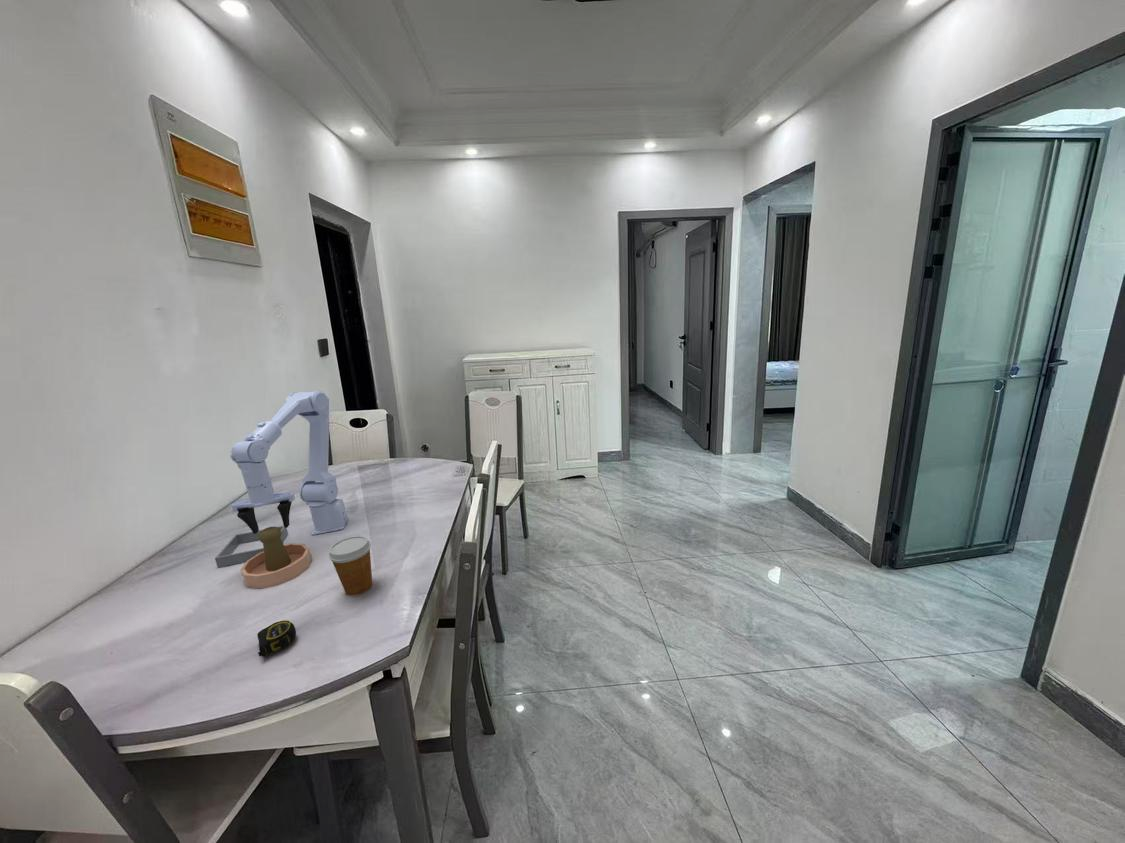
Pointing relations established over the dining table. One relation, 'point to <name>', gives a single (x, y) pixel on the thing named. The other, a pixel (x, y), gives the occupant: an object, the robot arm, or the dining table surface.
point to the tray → (228, 558)
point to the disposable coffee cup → (352, 564)
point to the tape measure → (276, 637)
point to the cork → (274, 549)
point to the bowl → (261, 578)
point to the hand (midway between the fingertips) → (271, 529)
